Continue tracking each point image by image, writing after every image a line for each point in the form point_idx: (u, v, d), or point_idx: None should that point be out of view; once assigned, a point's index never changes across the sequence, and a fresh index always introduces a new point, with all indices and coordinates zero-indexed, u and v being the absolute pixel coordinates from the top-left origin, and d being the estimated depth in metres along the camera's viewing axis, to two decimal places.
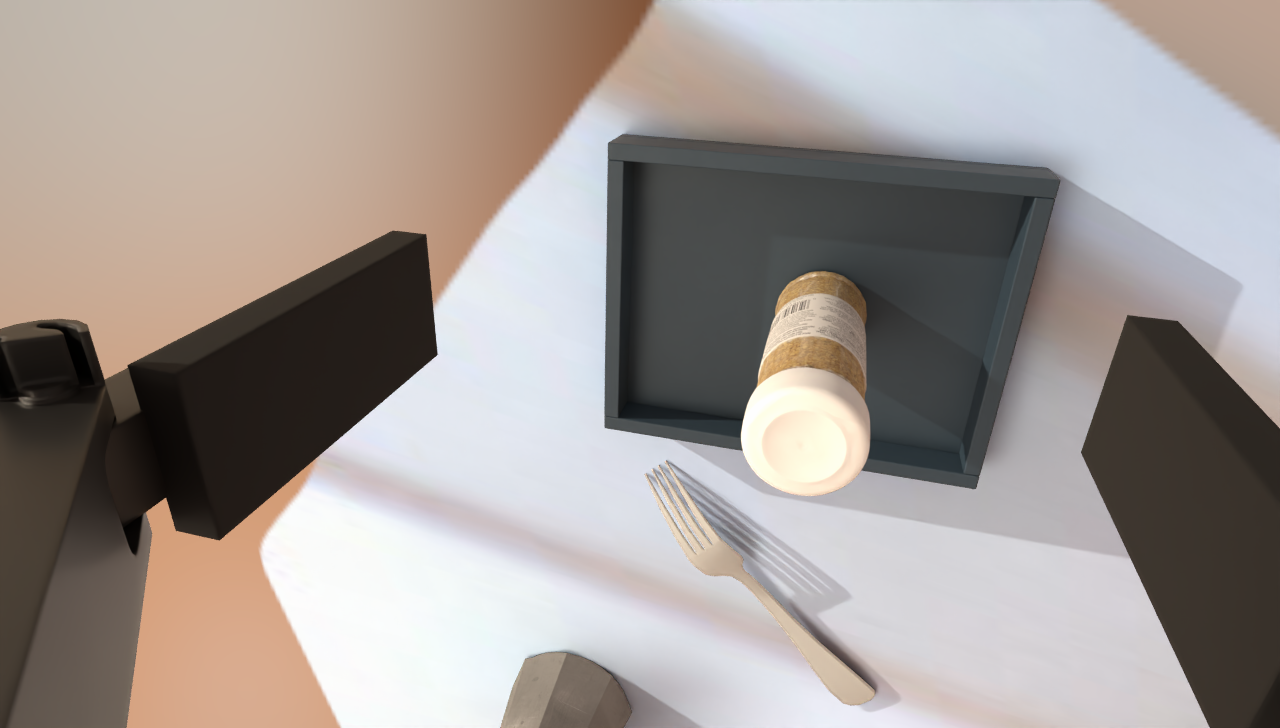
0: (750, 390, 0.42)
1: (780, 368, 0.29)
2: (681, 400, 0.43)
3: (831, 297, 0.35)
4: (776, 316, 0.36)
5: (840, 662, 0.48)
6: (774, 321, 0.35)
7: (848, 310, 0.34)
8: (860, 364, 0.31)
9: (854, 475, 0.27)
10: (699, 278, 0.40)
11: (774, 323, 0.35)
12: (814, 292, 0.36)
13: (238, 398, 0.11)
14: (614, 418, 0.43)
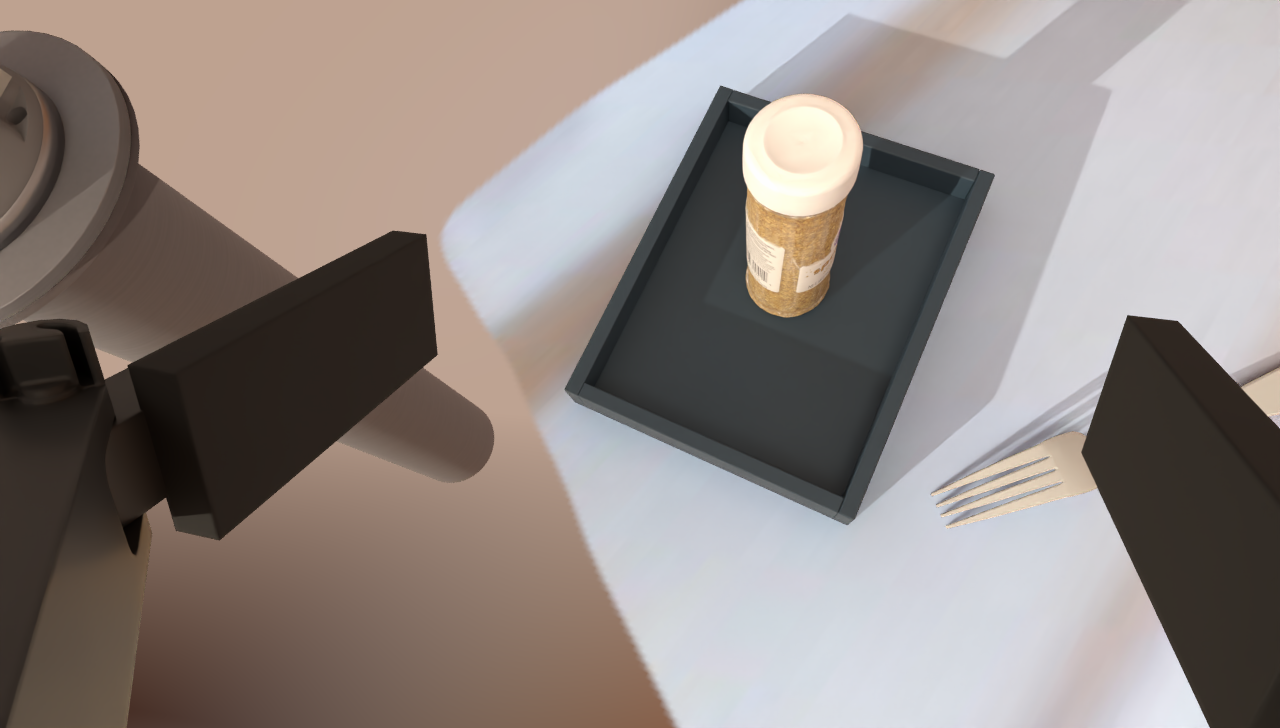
0: (854, 366, 0.40)
1: None
2: (851, 441, 0.39)
3: None
4: (756, 276, 0.38)
5: (1270, 373, 0.37)
6: (758, 274, 0.38)
7: None
8: None
9: (844, 108, 0.30)
10: (723, 376, 0.41)
11: (757, 270, 0.37)
12: None
13: (238, 398, 0.11)
14: (843, 502, 0.36)
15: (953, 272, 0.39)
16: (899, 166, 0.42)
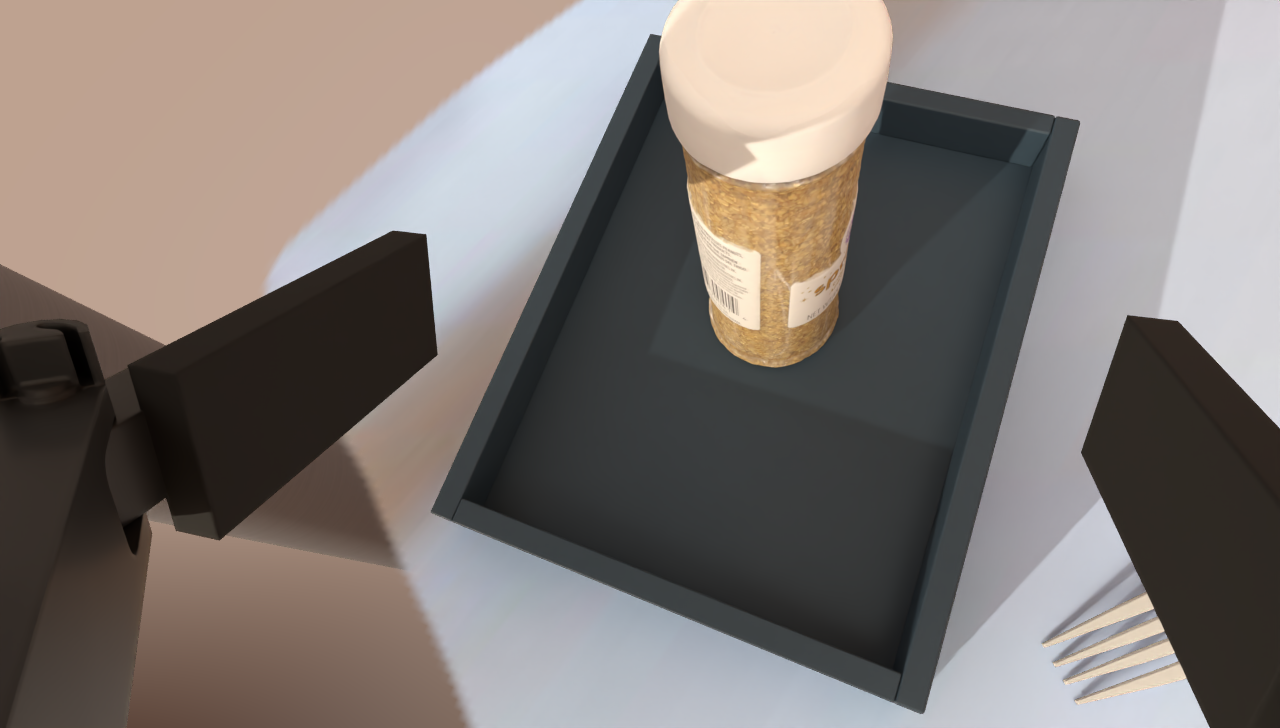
0: (892, 436, 0.25)
1: None
2: (899, 562, 0.24)
3: None
4: (721, 307, 0.23)
5: None
6: (723, 304, 0.23)
7: None
8: None
9: None
10: (685, 467, 0.26)
11: (720, 296, 0.23)
12: None
13: (237, 398, 0.11)
14: (902, 682, 0.21)
15: (1036, 276, 0.24)
16: (927, 125, 0.27)
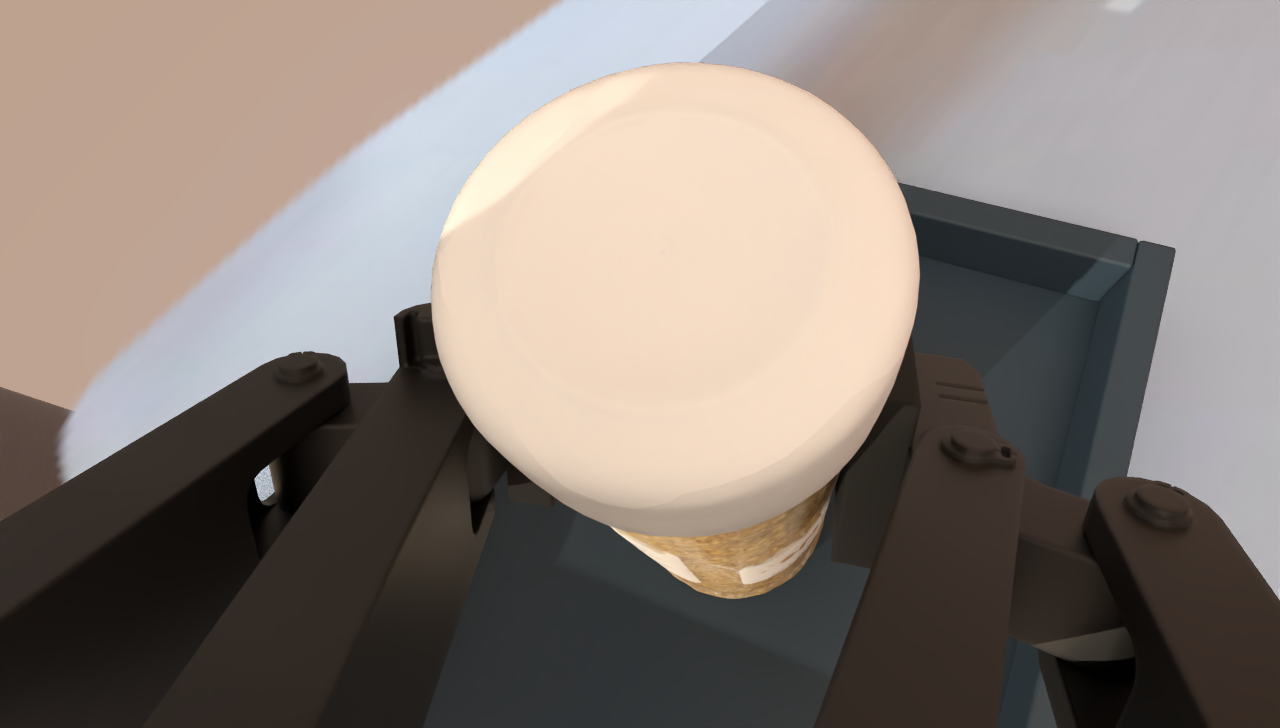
0: None
1: None
2: None
3: None
4: None
5: None
6: None
7: None
8: None
9: (823, 106, 0.07)
10: None
11: None
12: None
13: None
14: None
15: None
16: (952, 242, 0.19)
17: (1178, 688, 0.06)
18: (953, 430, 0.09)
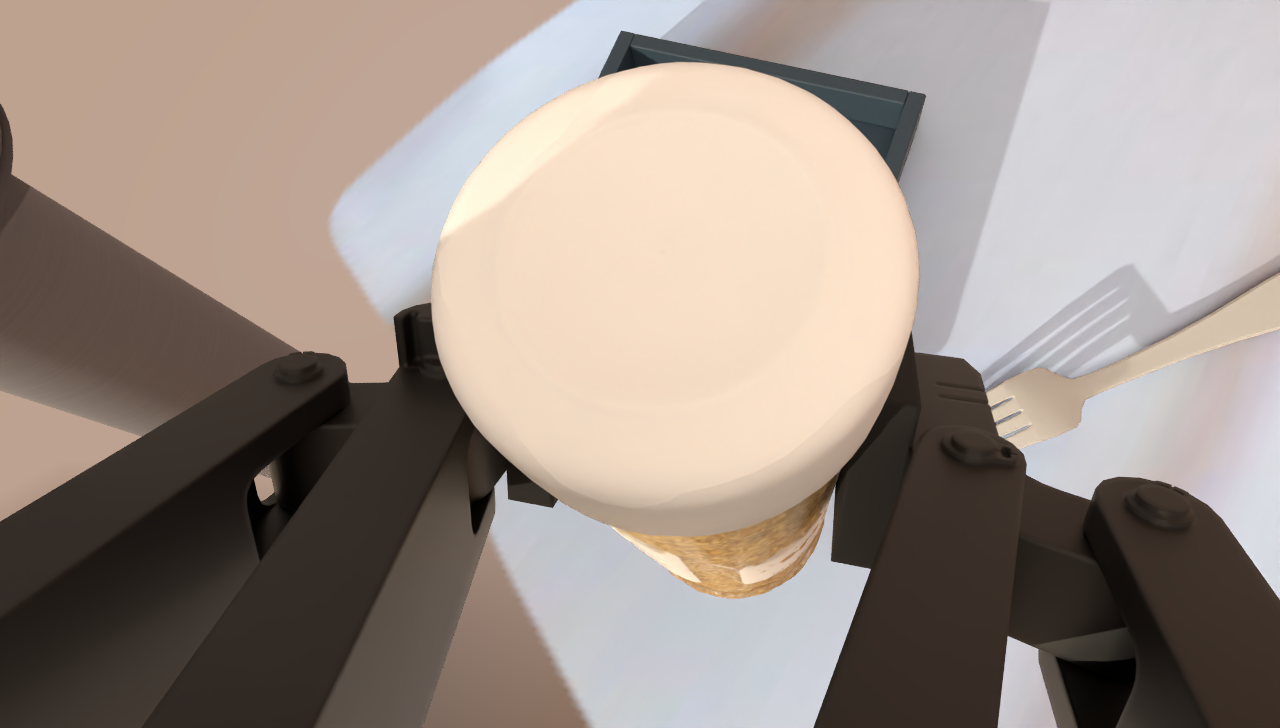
0: None
1: None
2: None
3: None
4: None
5: (1259, 286, 0.32)
6: None
7: None
8: None
9: (823, 105, 0.07)
10: None
11: None
12: None
13: None
14: None
15: None
16: (821, 98, 0.38)
17: (1179, 688, 0.06)
18: (953, 430, 0.09)
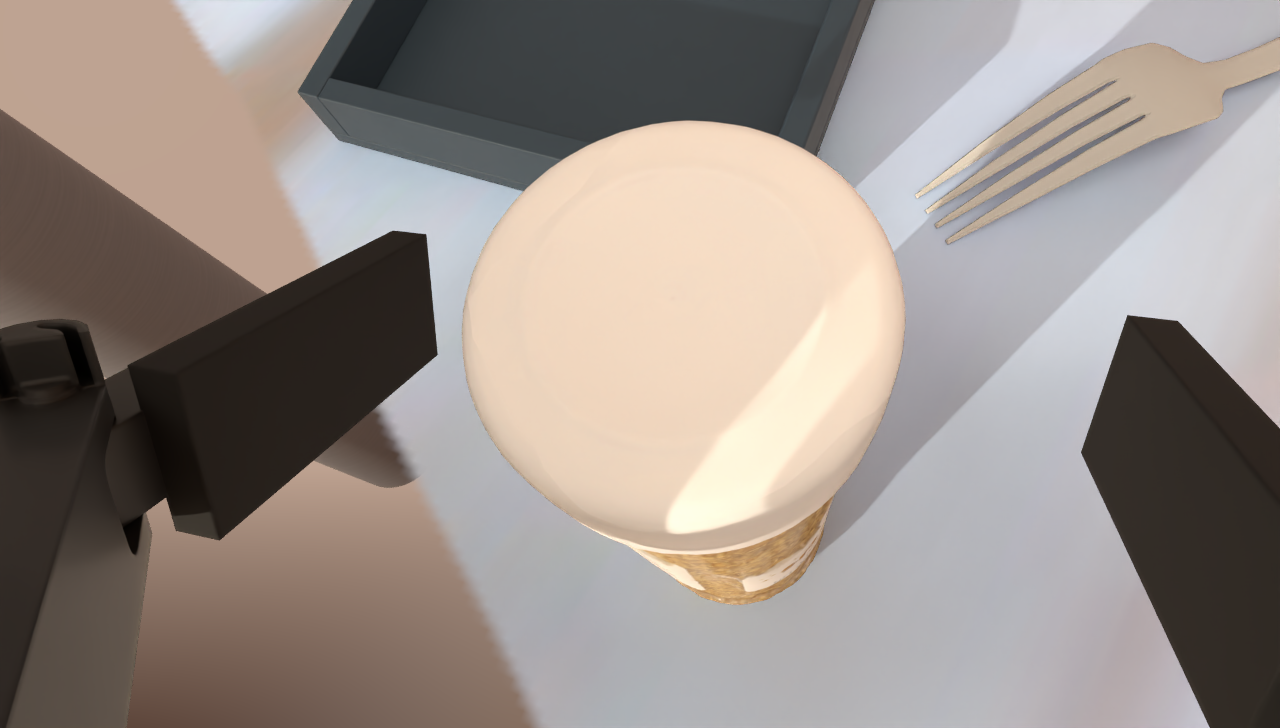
0: (773, 23, 0.24)
1: None
2: (774, 129, 0.23)
3: None
4: None
5: None
6: None
7: None
8: None
9: (819, 164, 0.08)
10: (564, 67, 0.25)
11: None
12: None
13: (238, 398, 0.11)
14: None
15: None
16: None
17: None
18: None
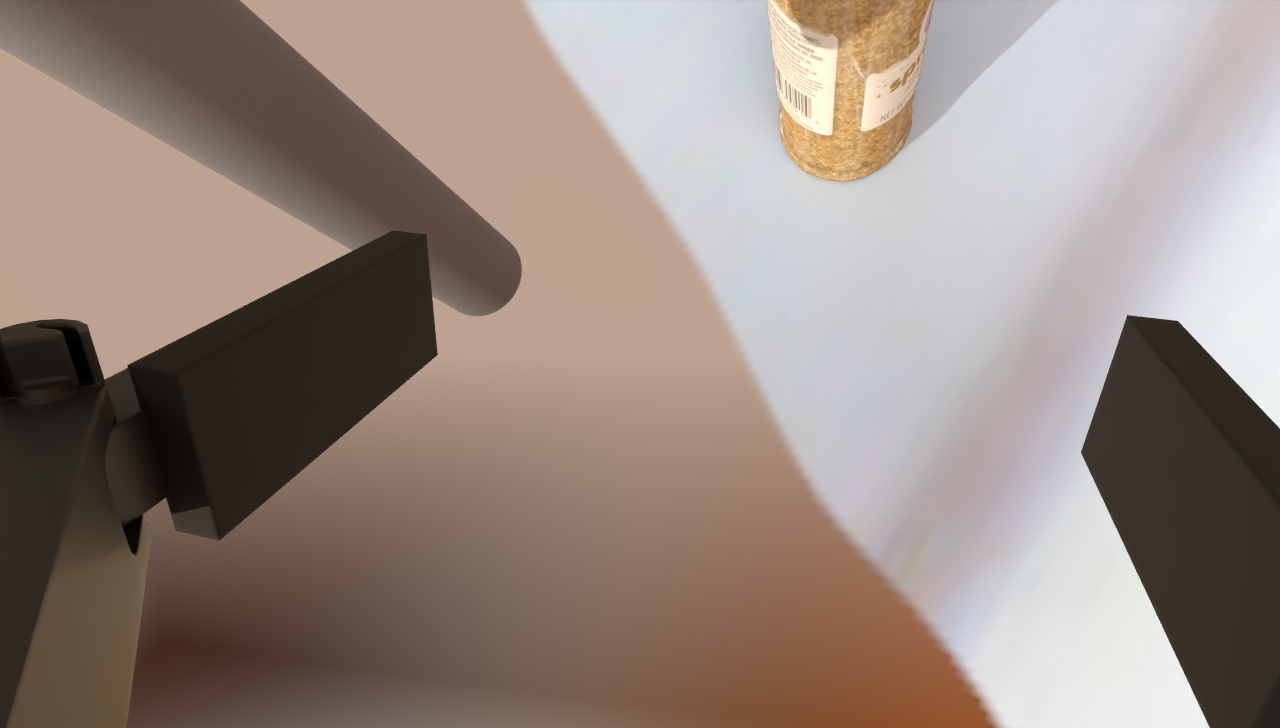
0: None
1: None
2: None
3: None
4: (793, 112, 0.23)
5: None
6: (796, 107, 0.23)
7: None
8: None
9: None
10: None
11: (793, 98, 0.23)
12: None
13: (237, 398, 0.11)
14: None
15: None
16: None
17: None
18: None
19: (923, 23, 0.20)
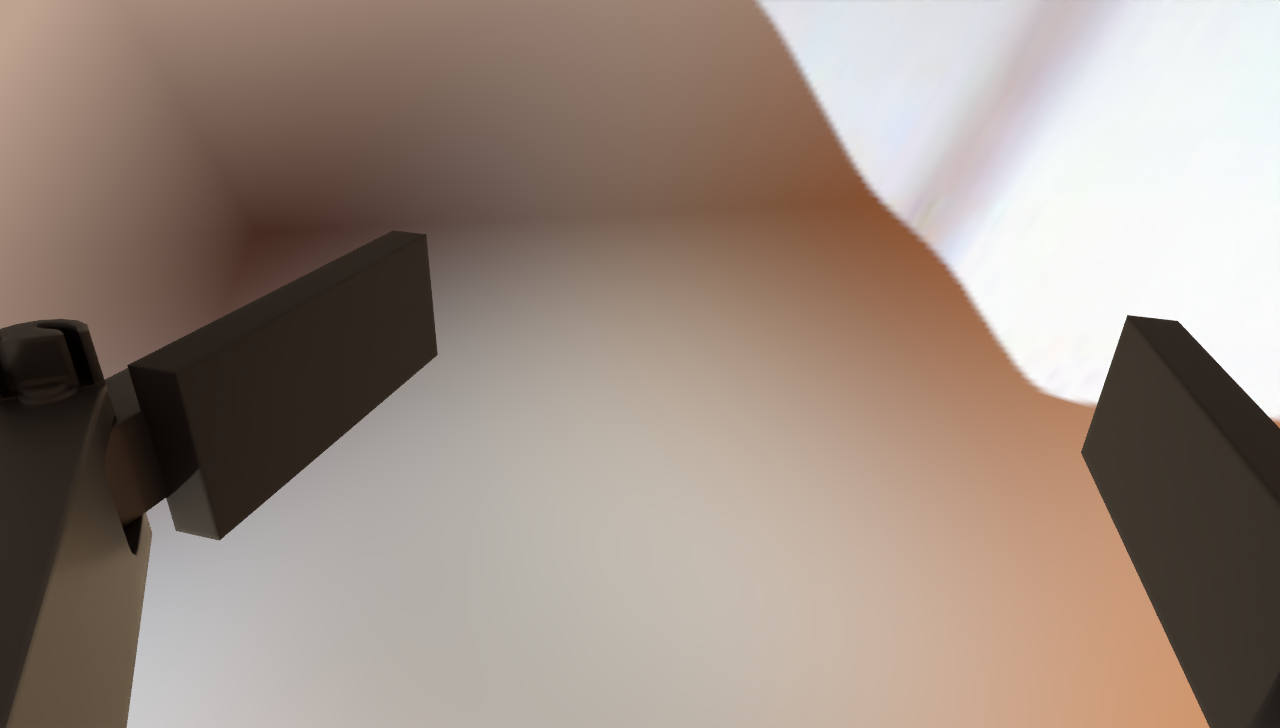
0: None
1: None
2: None
3: None
4: None
5: None
6: None
7: None
8: None
9: None
10: None
11: None
12: None
13: (238, 398, 0.11)
14: None
15: None
16: None
17: None
18: None
19: None
